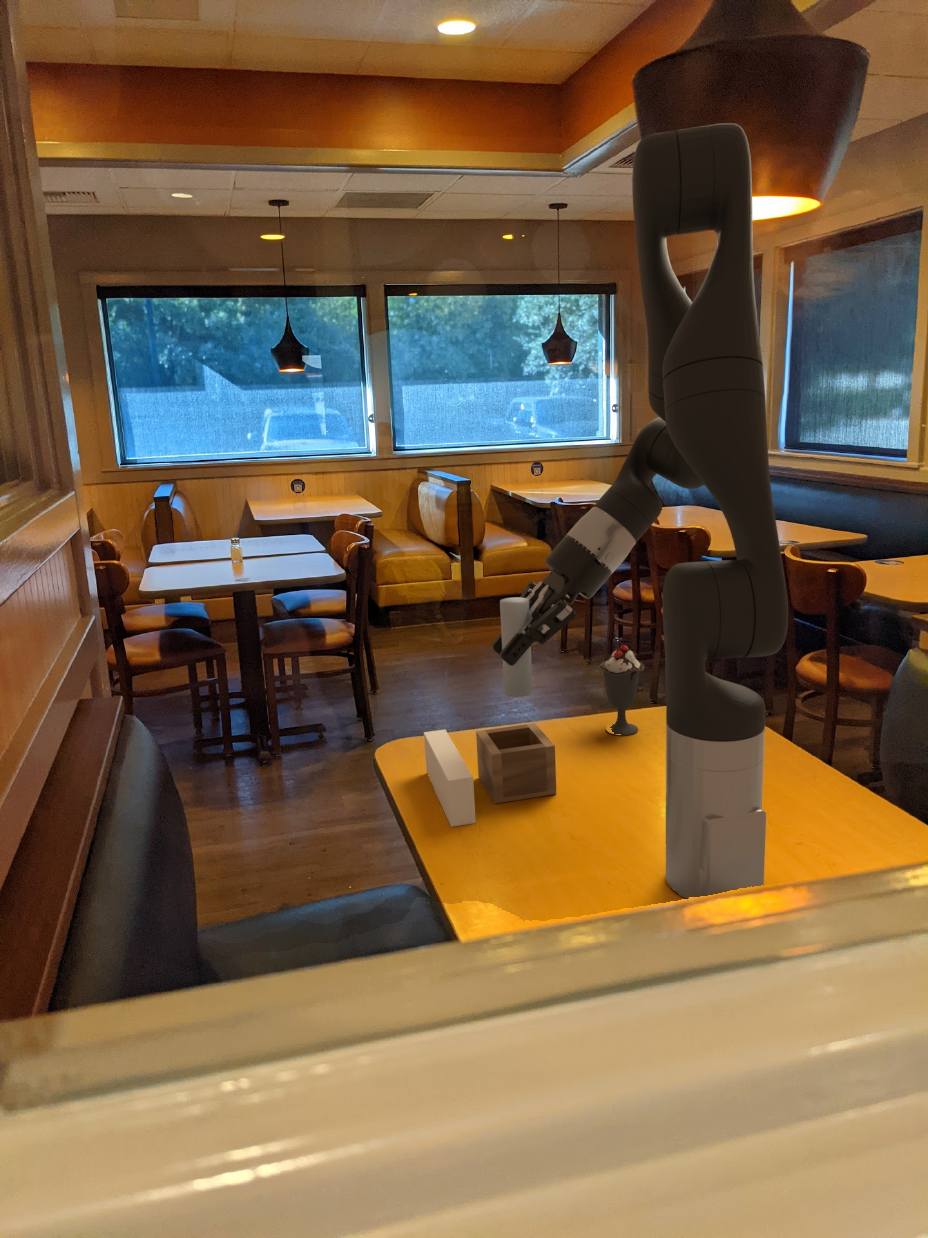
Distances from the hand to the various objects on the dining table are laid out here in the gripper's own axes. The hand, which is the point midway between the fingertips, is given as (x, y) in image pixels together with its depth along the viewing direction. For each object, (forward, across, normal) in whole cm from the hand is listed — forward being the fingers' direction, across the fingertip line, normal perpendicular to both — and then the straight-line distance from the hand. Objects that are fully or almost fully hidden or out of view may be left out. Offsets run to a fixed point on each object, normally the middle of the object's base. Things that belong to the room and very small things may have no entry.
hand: (501, 656), depth 104 cm
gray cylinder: (+2, 0, +5) cm, 5 cm away
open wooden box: (+12, 0, +14) cm, 18 cm away
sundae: (-2, -13, +28) cm, 31 cm away
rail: (+18, 0, +7) cm, 20 cm away
